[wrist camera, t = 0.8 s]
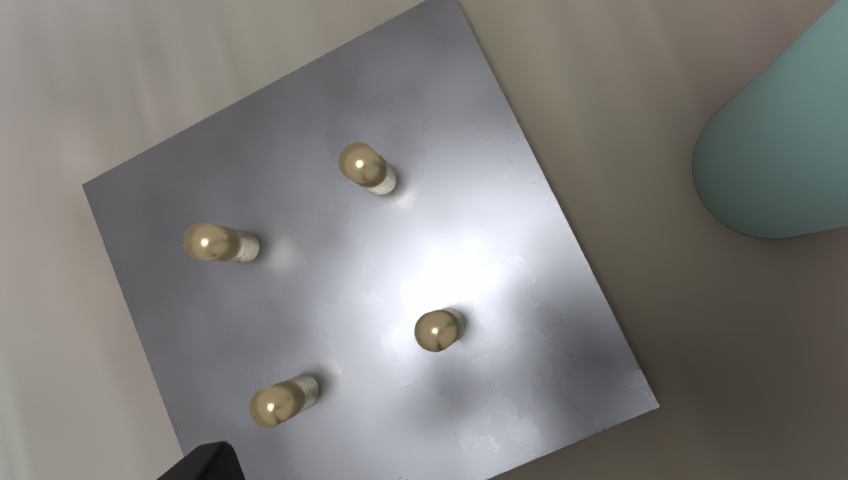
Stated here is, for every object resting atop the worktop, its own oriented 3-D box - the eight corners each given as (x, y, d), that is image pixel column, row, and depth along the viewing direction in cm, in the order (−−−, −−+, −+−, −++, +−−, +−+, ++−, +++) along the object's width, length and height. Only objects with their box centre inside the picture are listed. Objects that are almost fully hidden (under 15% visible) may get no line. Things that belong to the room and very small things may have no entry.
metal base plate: (652, 399, 21) (683, 428, 16) (248, 570, 23) (185, 634, 18) (454, 2, 23) (437, -60, 19) (103, 189, 25) (18, 170, 21)
